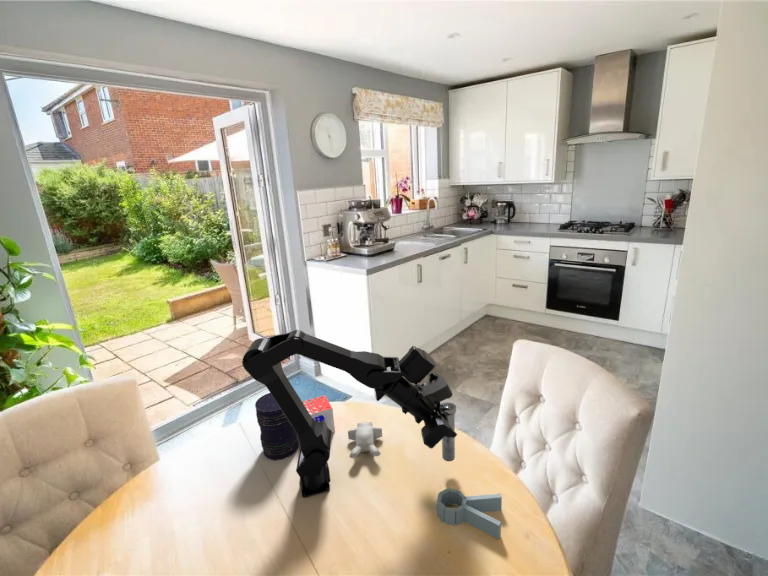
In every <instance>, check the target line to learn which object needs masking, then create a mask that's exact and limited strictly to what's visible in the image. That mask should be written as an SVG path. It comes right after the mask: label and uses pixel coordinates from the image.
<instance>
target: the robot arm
mask: <svg viewBox="0 0 768 576" xmlns="http://www.w3.org/2000/svg"><path fill="white" fill-rule="evenodd" d="M294 355H300V356H302V357H305V358H307V359H310V360H313V361H316V362H319V363H321V364H324V365H327V366H329V367H331V368H335V369H338V370H340V371H343V372H345V373H347V374H349V375H350V376H351V377H352V378H354V379H355V380H356V381H357V382H358V383H360V384H362V385H364V386H366V387H367V388H369V389H374V392H375V400H376V401H377V402H379V401H380V400H381V399H382V398H383V397H384V396H386V397H387V398H388V399H390V400H391V401H392V402H393V403H394V404H396V405H398V406H399V407H400V408H401V412H402V414H405V415H407V414H408V413H409V415H411V416H412V417H414V421H415V423H417V424H418V425H419V424H421V422H424V423H423V424H424V426H422V427H421V429H420V435H421V438H422V442H423V445H425V447H428V448H429V449H434V448H435V447H436V446H437V445H438V444H439V442H442V439H443V438H444V437H451V438H455V439H456V438H457V436H458V433H457V432H456V431H454V430H453V429H452V428H451V427H450V426H449V425H448V423H447V418H446V416H445V413H443V414H442V413H441V412H440V405H441V402H443V401H445V400H448V399H451V398H452V397H453V392H452V389H451V387H450V385H449V383H448V382H447V380H446V378H445V376H443V375H442V374H438V373H436V372H434V371H433V370H434V369H435V368H436V367H437V364H438V363H437V362H436V360H434V358H433V357H432V356H431V355H430V354H429V353H428V352H427V351H426V350H424V349H422V348H419V347H416V346H415V345H412V346H411V347H410V348H409V349H408V351H407V353H406V354H404V356H403V357H401V359H399V357H396V356H383V355H381V354H378V353H375V352H369V351H366V350H365V351H355V350H350V349H348V348H345V347H343V346H340V345H337V344H334V343H332V342H329V341H328V340H327V341H326V340H323V339H321V338H318V337H316V336H313V335H311V334H308V333H305V332H304V331H303V330H300V329H295V330H292V331H289V332H287V333H281V334H276V335H275V334H274V335H273V336H271V337H268V338H265V337H259V338H256V339H255V340H253V341H252V342H251V344H250V346H249V347H248V349H247V350H246V352H245V354H244V355H243V357H242V361H241V364H242V366H243V369H244V370H245V371H246V372H247V373H248V375H250V376H251V378H253V380H255V381H257V382H258V383H260V384H261V385H264V386H265V387H266V388H267V390H268V391H269V392H268V393H271V395H272V396H273V398H274V399H275V401H276V402H277V404H278V405H279V407H280V408H281V410H282V412H283V413H284V415H285V416H286V418H287V419H288V421H289V422H290V424H291V425H292V427H293V428H294V430H295V431H296V433H297V435H298V441H299V454H298V459H297V464H296V465H297V466H296V469H295V472H296V474H297V476H299V483H300V489H301V496H302V498H308V497H311V496H314V495H317V494H321V493H325V492H328V491H330V490H331V489H330V488H331V487H330V482H331V474H330V467H329V464H328V461H329V459H330V457H331V447H332V433H333V432H332V431H331V430H330V429H329V428H328V427H327V425H326V422H325V421H324V420H322V421H321V422H317V421H315V420H314V419H313V418H312V417H311V415H310V414H309V412H308V410H307V409H306V407H305V406H304V404H303V400H302V399H301V398H300V396H299V395H298V393H297V392H296V390H295V388H294V387H293V385H292V384H291V382H290V381H289V379H288V377H287V375H286V373H284V370H283V369H284V368H283V366H282V362H284V361H285V360H287V359H288V358H290V357H292V356H294ZM388 368H389V369H390V370H388ZM427 376H428V377H427ZM426 377H427V381H426V382H423V383H421V382H422V381H423V380H424V379H425V378H426ZM420 383H421V384H420Z"/></svg>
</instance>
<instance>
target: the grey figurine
mask: <svg viewBox="0 0 768 576" xmlns="http://www.w3.org/2000/svg"><path fill="white" fill-rule="evenodd" d="M381 437H383V429H382V427H379V426H378V427H377V426H373V422H372V421H370V422H368V421H367V422H357V427H355V428H353V429H350V430H348V431H347V438H348V440H350V441H354V442H355V447H354V448H353V449H351V450H350V453H349V456H348V457H349V459H355V458H357V456H358V455H359V454H360V453H362V452H368V451H369V452H370V454H371V455H373V456H374V457H378V456H380V455H381V451H380V450H379V449H378V447H377V446H375V440H378V439H379V438H381Z"/></svg>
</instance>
